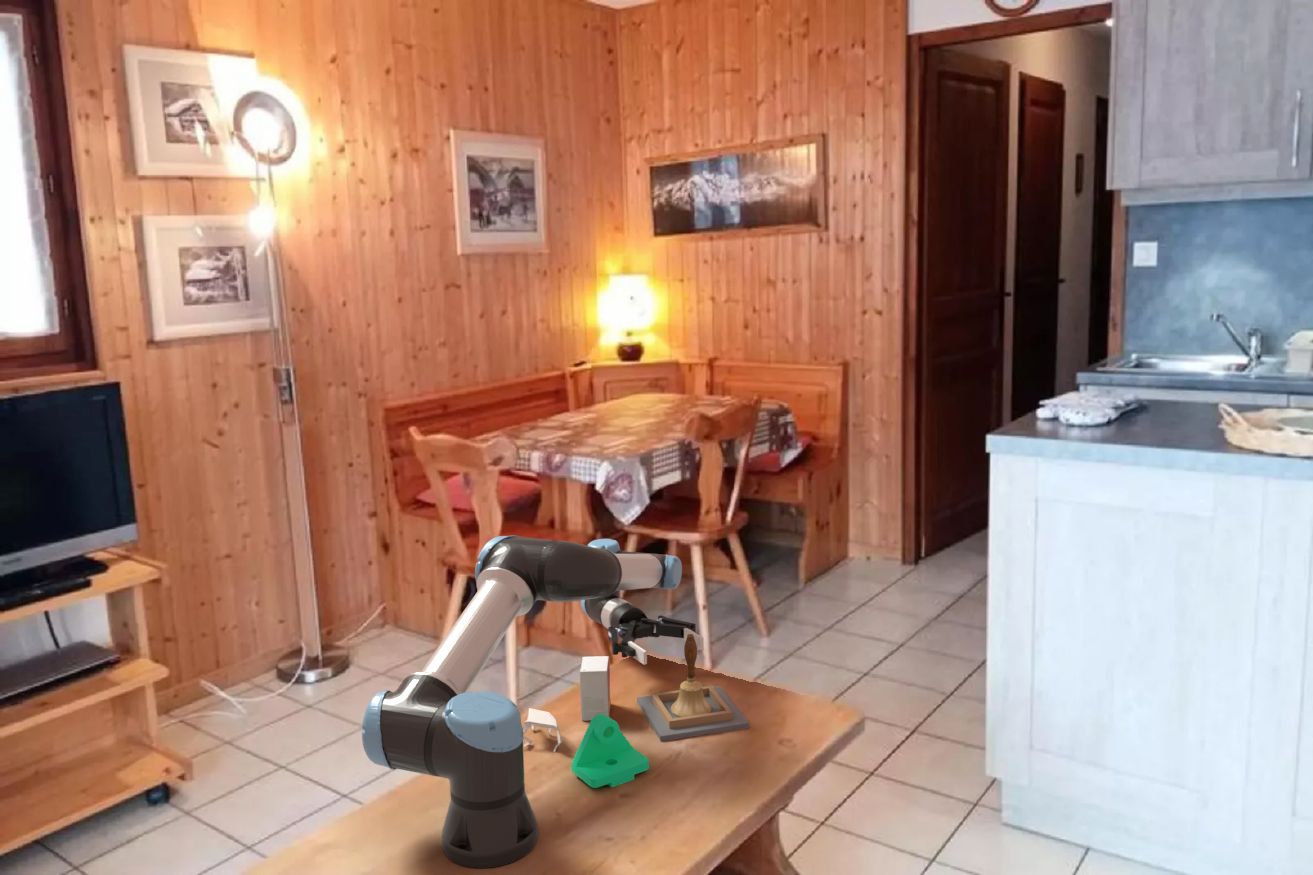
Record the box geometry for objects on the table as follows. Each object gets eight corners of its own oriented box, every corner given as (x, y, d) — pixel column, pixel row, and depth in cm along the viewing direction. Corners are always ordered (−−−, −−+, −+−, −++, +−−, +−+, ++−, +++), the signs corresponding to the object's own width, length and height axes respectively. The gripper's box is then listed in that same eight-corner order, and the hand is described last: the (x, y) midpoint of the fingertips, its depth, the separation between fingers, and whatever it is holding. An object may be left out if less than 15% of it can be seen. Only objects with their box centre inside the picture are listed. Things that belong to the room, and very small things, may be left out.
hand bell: (720, 711, 207) (719, 636, 204) (686, 723, 202) (685, 645, 199) (695, 697, 213) (694, 623, 210) (662, 708, 209) (660, 633, 206)
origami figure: (504, 743, 198) (503, 719, 197) (535, 726, 204) (534, 703, 203) (551, 761, 191) (550, 736, 190) (581, 743, 197) (580, 719, 196)
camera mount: (593, 794, 179) (591, 739, 177) (572, 776, 185) (569, 723, 183) (651, 774, 185) (650, 720, 183) (628, 757, 192) (627, 705, 190)
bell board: (660, 741, 197) (660, 729, 197) (636, 702, 214) (636, 690, 214) (749, 727, 202) (749, 715, 201) (719, 690, 219) (719, 679, 218)
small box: (609, 721, 206) (607, 671, 204) (580, 721, 206) (579, 671, 204) (611, 703, 214) (609, 655, 212) (584, 703, 214) (582, 655, 212)
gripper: (672, 624, 237) (724, 655, 219) (574, 647, 225) (621, 681, 207) (672, 593, 236) (724, 621, 218) (573, 614, 224) (620, 646, 206)
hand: (674, 650), depth 212 cm, fingers open, 13 cm apart
